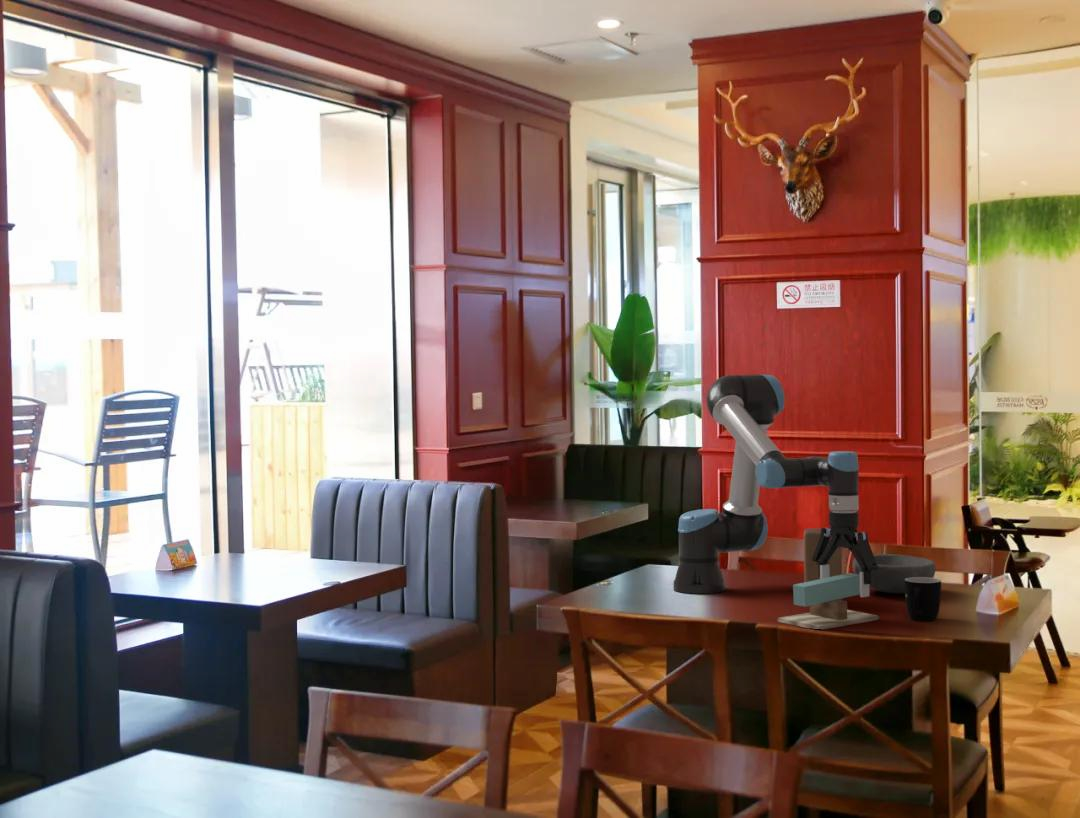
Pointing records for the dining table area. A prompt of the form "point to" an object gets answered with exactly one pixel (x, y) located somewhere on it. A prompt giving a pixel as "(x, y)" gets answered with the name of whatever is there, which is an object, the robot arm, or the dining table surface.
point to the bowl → (896, 571)
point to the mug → (923, 598)
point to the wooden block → (811, 566)
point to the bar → (826, 589)
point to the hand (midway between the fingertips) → (844, 593)
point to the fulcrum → (828, 616)
